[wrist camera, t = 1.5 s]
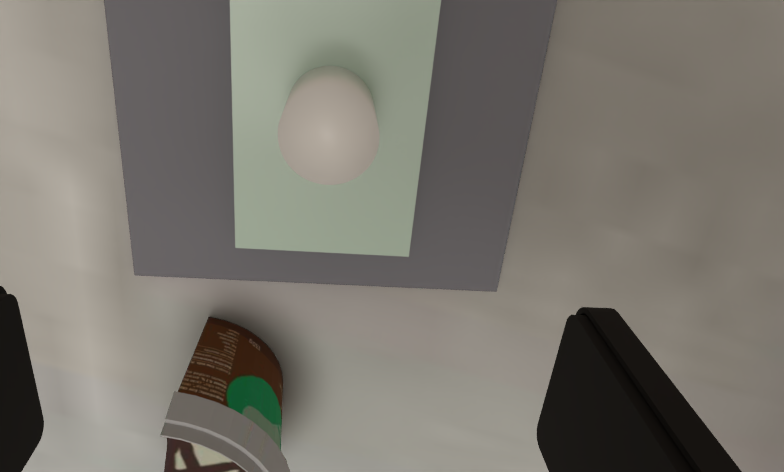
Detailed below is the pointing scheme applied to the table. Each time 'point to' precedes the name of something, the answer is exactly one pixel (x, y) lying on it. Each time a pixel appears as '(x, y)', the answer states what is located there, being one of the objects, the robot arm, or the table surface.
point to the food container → (227, 406)
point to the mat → (215, 147)
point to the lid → (329, 122)
